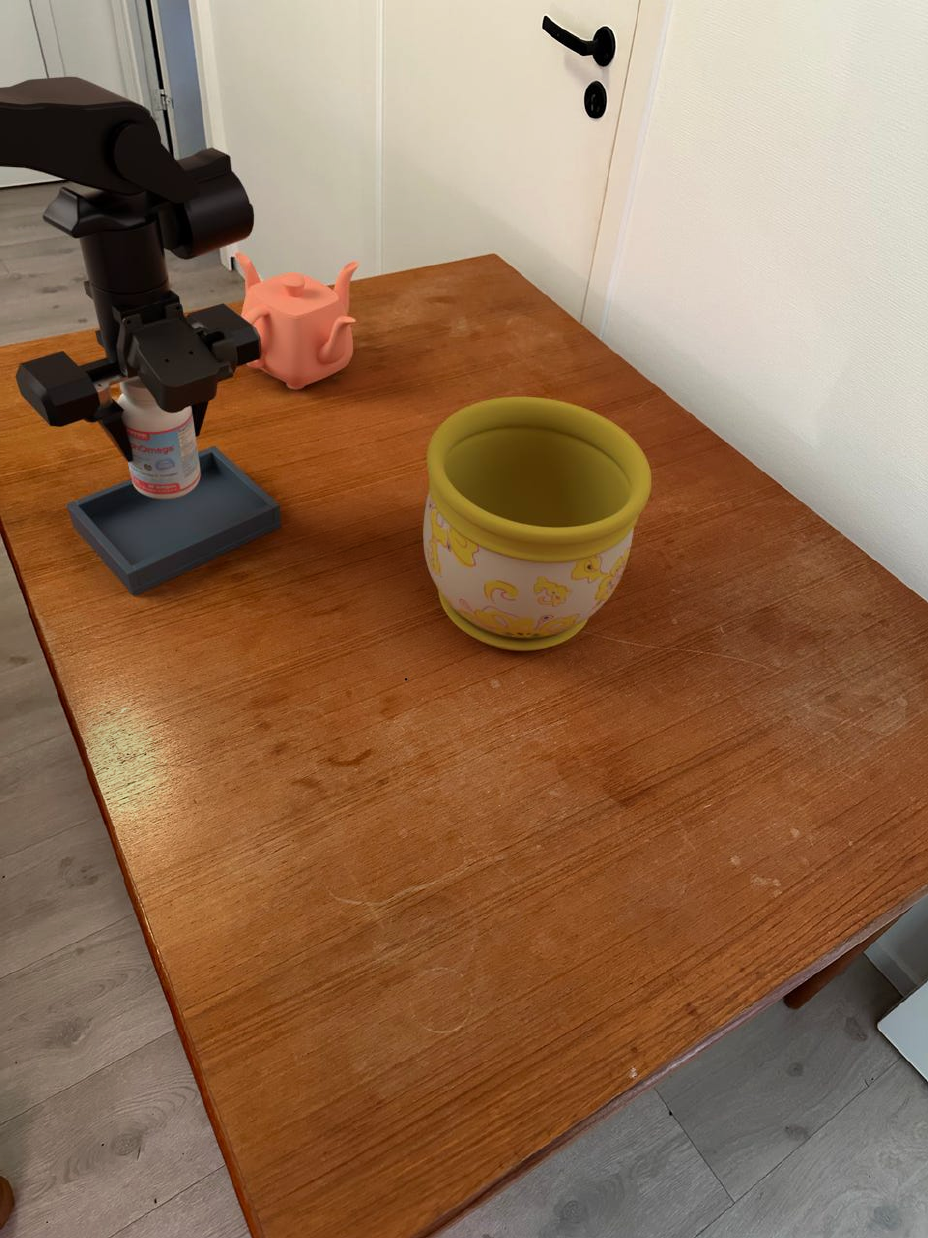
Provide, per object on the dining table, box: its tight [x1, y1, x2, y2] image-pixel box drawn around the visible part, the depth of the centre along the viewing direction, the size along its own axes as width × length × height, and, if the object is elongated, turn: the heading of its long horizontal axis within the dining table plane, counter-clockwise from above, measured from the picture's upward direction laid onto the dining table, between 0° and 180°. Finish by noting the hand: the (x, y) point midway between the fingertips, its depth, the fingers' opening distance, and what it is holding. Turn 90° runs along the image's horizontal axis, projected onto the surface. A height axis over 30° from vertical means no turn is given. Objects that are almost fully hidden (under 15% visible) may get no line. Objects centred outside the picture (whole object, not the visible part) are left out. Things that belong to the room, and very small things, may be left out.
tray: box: [65, 445, 282, 597], centre depth 83 cm, size 16×12×3 cm
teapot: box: [234, 252, 360, 390], centre depth 100 cm, size 14×14×11 cm
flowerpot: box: [422, 396, 652, 652], centre depth 75 cm, size 18×18×16 cm
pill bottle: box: [116, 376, 201, 499], centre depth 75 cm, size 6×6×11 cm
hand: (161, 446), depth 77 cm, fingers closed on pill bottle, 6 cm apart
